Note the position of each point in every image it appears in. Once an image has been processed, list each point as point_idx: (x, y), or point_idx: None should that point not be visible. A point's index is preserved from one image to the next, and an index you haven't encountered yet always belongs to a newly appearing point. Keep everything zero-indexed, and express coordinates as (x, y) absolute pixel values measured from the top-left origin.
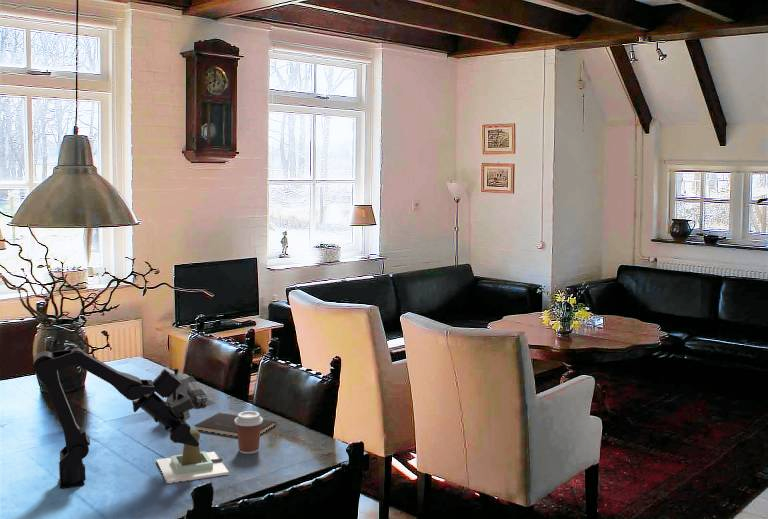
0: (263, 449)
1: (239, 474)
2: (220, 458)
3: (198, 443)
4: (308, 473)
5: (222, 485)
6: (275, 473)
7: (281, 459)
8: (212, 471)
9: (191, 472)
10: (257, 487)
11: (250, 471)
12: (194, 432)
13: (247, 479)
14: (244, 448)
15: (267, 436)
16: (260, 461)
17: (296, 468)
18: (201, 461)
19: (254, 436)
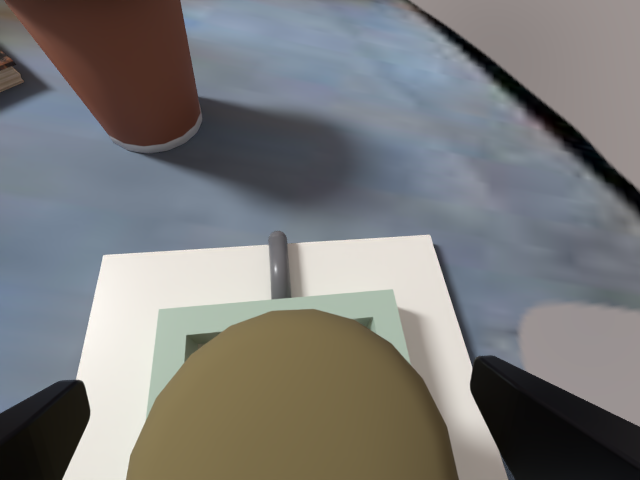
0: None
1: (429, 201)
2: (279, 239)
3: (509, 367)
4: (444, 37)
5: (556, 288)
6: (434, 99)
7: (307, 59)
8: (416, 309)
9: None
10: (563, 171)
11: (402, 160)
12: (396, 405)
13: (486, 185)
14: (182, 119)
15: None
16: (304, 111)
17: (399, 48)
18: None
19: (185, 29)
